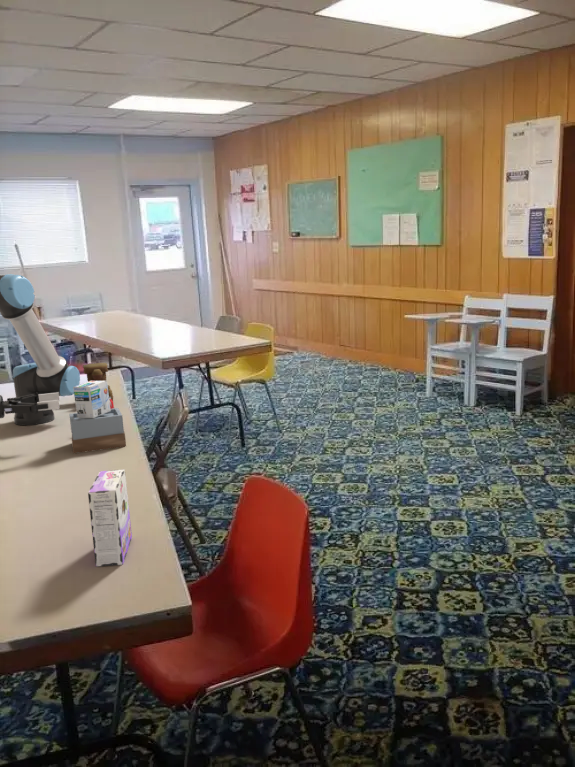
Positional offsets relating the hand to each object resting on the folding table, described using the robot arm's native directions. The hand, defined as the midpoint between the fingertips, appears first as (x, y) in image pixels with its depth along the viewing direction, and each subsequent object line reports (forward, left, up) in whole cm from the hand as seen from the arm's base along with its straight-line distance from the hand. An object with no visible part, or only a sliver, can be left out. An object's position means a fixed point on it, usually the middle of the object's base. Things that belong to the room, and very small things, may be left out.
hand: (59, 400), depth 229 cm
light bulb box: (0, +11, -6) cm, 12 cm away
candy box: (+92, +10, -17) cm, 94 cm away
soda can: (-20, +15, -17) cm, 30 cm away
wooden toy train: (-70, +15, -17) cm, 74 cm away
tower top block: (0, +11, -12) cm, 17 cm away
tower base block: (0, +11, -17) cm, 21 cm away
